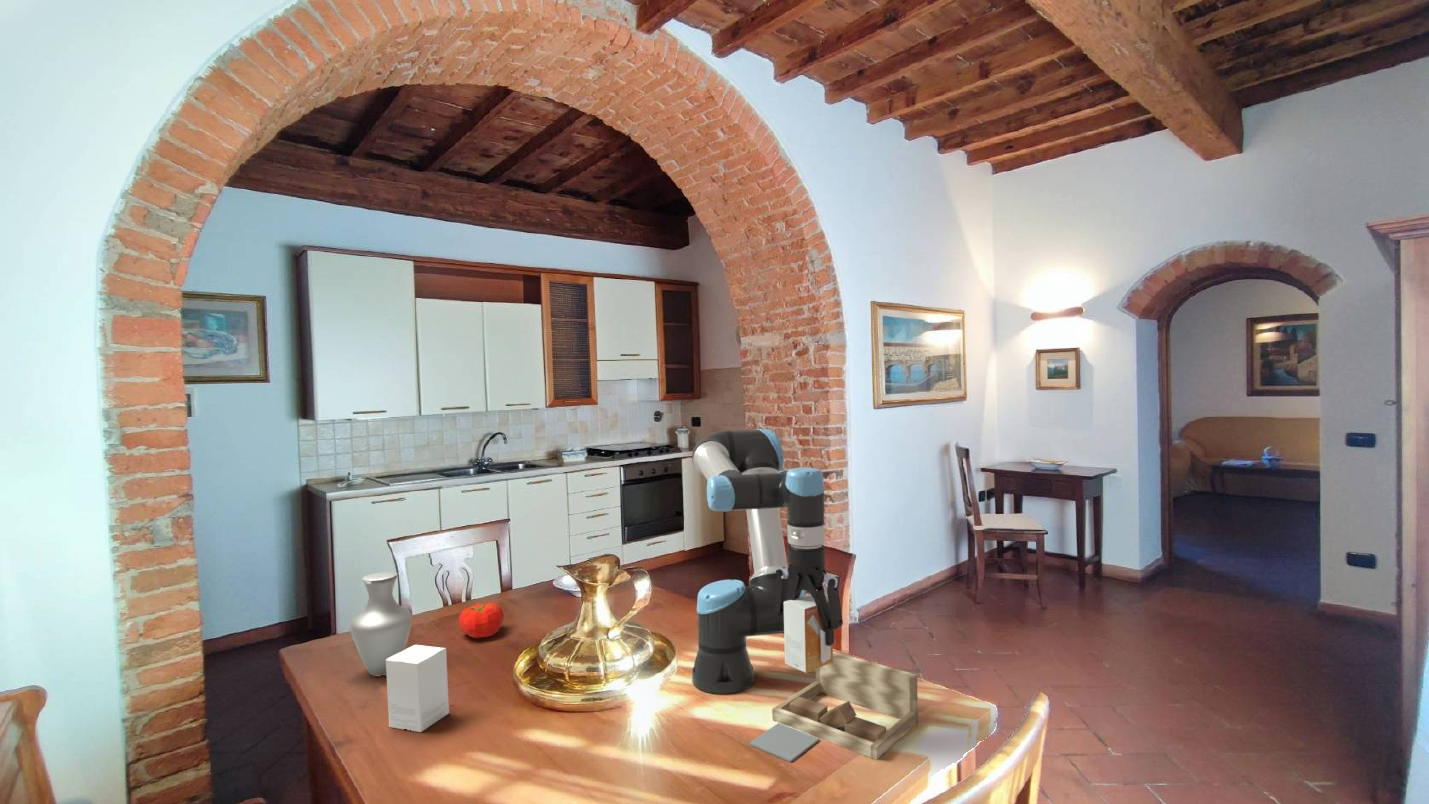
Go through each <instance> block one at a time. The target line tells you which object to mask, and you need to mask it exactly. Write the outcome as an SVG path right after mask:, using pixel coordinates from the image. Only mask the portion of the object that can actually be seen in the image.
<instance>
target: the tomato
mask: <svg viewBox="0 0 1429 804" xmlns="http://www.w3.org/2000/svg"><path fill="white" fill-rule="evenodd" d="M503 622H504V611H503V609H502V607H501V606H499V605H498V604H497V603H494V602H487V603H485V602H484V603H477V604H473V605H472V606H470V607H467V608H464V609H463V610H462V611H461V612H460V615H459V617H458V624H459V628H460V631H461V632H462V633H463V634H466V635H468V636H469V637H472V638H474V639H481V638H484V637H486V638H490V637H492V636H494V635H495V634H496V633H498V632H499V631H500V628H501V626H502V625H503ZM489 636H490V637H489Z"/></svg>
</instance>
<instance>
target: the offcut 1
mask: <svg viewBox="0 0 1429 804" xmlns="http://www.w3.org/2000/svg"><path fill="white" fill-rule="evenodd" d="M828 711H829V710H828V705H827V704H823V703H821V702H818V701H814V700H811V699H810V700H808V699H805V698H802V697H798V698H796V699H795V700H794V701H792V702H791V703H790V704H789V712H792V713H794V714H797V715H800V716H802V717H805V718H808V719H811V720H813V721H816V722H819V723H821V722H820V720H819V718H820V717H821V716H823V715H824V714H825V713H826V712H828Z"/></svg>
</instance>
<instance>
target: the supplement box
mask: <svg viewBox="0 0 1429 804" xmlns="http://www.w3.org/2000/svg"><path fill="white" fill-rule="evenodd" d="M447 660H448V659H447V648H446V647H437V646H429V645H420V644H413V645H412V646H410V647H406V648H405V650H404V651H402V652H400V653H398V654H395V655H393V656H391V657H389V658H388V659H386V673H387V675H386V688H387V690H386V691H387V693H386V694H387V706H388V707H387V709H388V710H387V711H388V727H389V728H392V729H398V730H399V729H400V730H404V729H407V731H410V730H411V731H412V732H417V733H422V732H424V731H425V730H427V729H428V728H430V726H432V725H434V724H435V723H437V722H438V721H439V720H441V719H443V718H444V717H446V716H447V715H449V713H450V709H449V708H450V707H449V687H448V686H449V685H448V663H447V662H448V661H447ZM411 731H410V732H411Z"/></svg>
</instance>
